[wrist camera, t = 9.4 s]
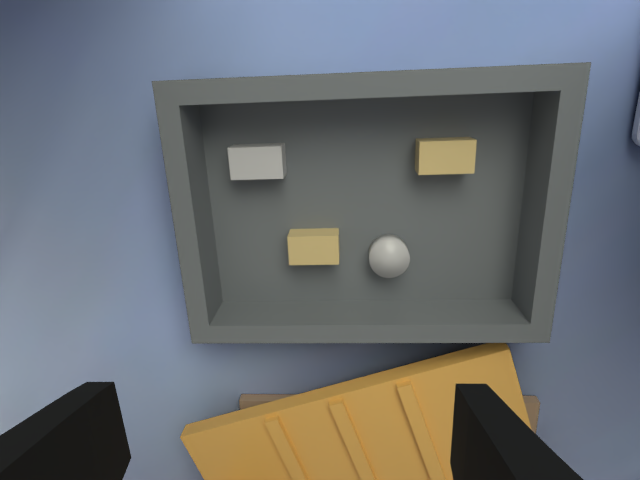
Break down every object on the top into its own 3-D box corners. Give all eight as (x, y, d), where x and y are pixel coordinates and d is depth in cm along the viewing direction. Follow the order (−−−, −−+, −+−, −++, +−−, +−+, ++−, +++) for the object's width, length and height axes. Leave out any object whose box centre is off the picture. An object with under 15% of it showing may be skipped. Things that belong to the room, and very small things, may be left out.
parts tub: (554, 65, 16) (591, 62, 14) (524, 310, 20) (549, 342, 17) (179, 81, 17) (152, 81, 15) (210, 312, 21) (191, 343, 18)
